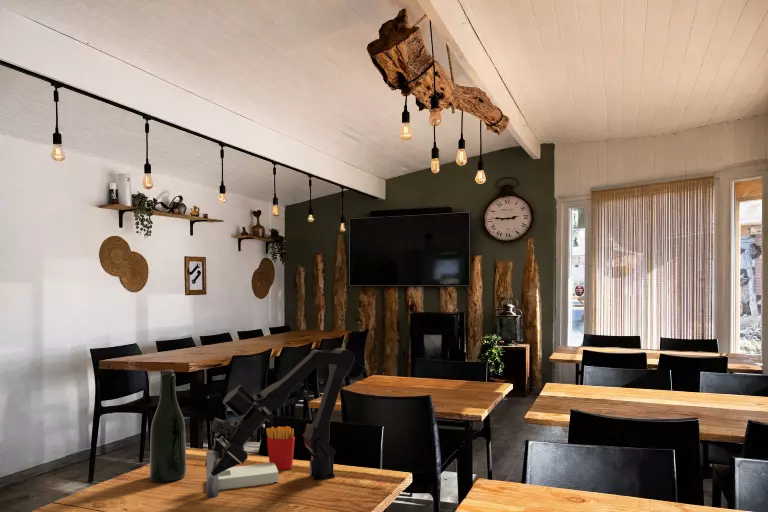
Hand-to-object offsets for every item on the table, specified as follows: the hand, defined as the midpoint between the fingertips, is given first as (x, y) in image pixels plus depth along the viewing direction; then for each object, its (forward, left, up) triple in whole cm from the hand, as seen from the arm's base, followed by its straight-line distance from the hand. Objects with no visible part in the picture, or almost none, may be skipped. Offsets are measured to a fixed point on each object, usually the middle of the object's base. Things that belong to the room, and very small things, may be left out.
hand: (208, 470), depth 160 cm
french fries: (-22, -18, -7) cm, 30 cm away
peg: (-1, 0, -7) cm, 7 cm away
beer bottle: (+12, -21, -7) cm, 25 cm away
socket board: (-10, -9, -7) cm, 16 cm away
